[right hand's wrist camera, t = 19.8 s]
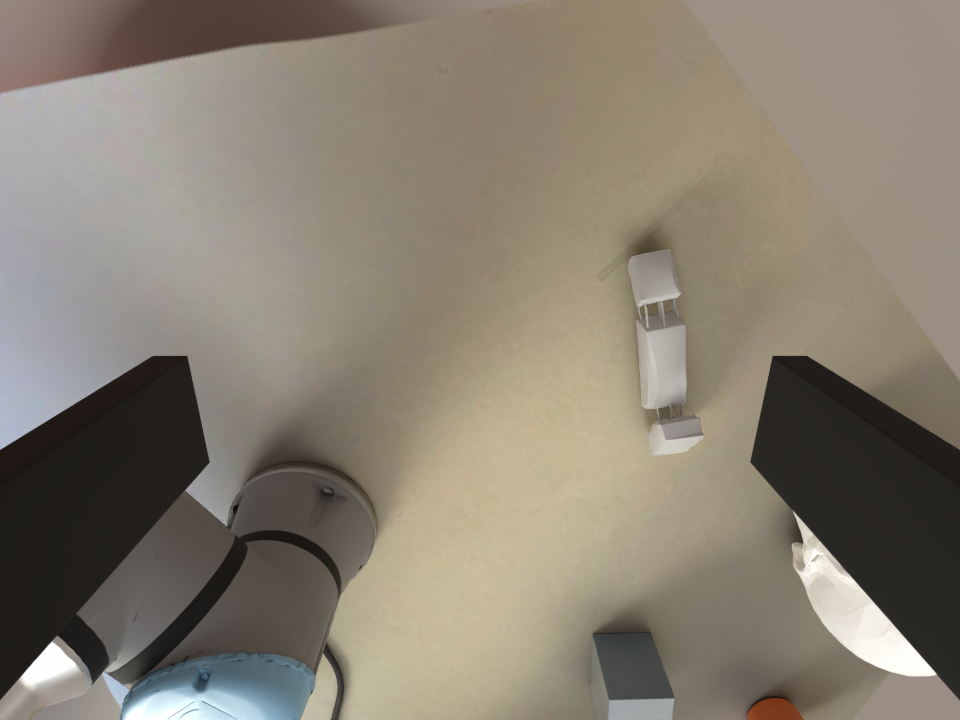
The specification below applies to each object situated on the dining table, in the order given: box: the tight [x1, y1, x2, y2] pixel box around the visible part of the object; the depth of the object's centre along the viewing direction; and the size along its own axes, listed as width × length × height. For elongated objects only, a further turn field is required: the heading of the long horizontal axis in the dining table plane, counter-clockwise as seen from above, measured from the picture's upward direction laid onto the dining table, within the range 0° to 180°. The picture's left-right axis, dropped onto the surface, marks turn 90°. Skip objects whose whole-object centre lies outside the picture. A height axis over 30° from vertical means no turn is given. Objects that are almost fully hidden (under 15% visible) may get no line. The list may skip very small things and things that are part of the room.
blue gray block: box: [589, 633, 675, 720], centre depth 62 cm, size 7×9×8 cm
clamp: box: [627, 249, 705, 456], centre depth 48 cm, size 20×4×7 cm, turn 12°
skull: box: [792, 511, 937, 676], centre depth 50 cm, size 13×22×16 cm, turn 23°
